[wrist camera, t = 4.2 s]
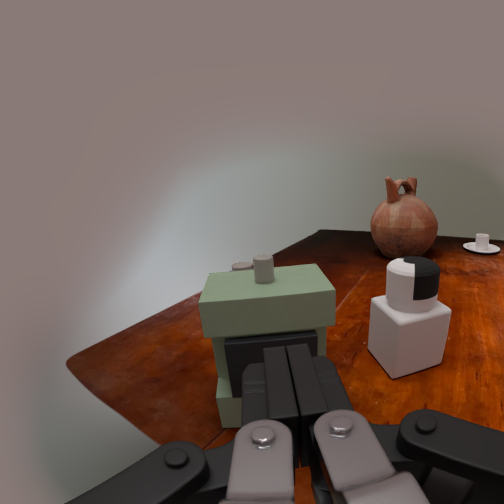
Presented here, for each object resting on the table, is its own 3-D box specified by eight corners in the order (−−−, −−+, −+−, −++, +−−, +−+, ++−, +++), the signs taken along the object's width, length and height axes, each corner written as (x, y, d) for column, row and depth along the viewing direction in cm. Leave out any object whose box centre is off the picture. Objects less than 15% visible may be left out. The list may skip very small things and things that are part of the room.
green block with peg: (222, 428, 25) (193, 275, 22) (226, 384, 32) (206, 252, 28) (330, 417, 25) (335, 262, 21) (316, 375, 32) (315, 242, 28)
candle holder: (460, 244, 77) (461, 229, 76) (494, 245, 71) (495, 231, 70) (466, 254, 67) (467, 238, 66) (504, 256, 61) (505, 240, 60)
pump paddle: (232, 398, 23) (223, 344, 22) (233, 391, 24) (224, 337, 23) (317, 390, 23) (317, 335, 22) (314, 383, 24) (315, 329, 23)
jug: (415, 268, 62) (415, 177, 57) (356, 255, 77) (353, 177, 72) (446, 252, 71) (447, 176, 66) (394, 242, 86) (393, 175, 81)
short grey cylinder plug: (232, 280, 53) (231, 268, 52) (233, 273, 56) (232, 262, 56) (253, 278, 53) (252, 266, 52) (253, 271, 56) (252, 261, 56)
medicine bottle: (413, 337, 36) (421, 249, 33) (442, 364, 29) (458, 265, 26) (366, 349, 35) (371, 256, 33) (391, 380, 28) (404, 275, 26)
